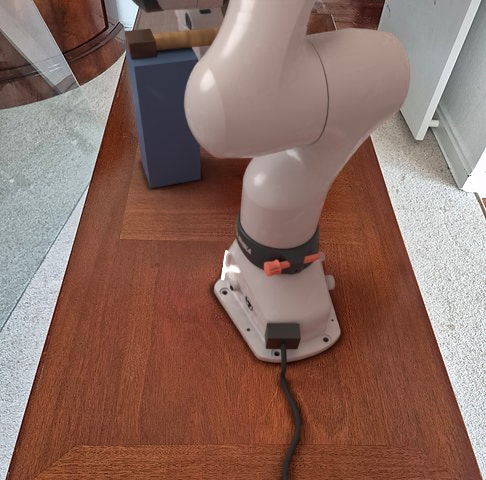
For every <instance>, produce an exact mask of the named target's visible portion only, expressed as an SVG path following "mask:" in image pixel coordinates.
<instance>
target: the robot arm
mask: <svg viewBox="0 0 486 480" xmlns="http://www.w3.org/2000/svg"><path fill="white" fill-rule="evenodd" d="M131 1H132V2H133V3H134V4H135V5H136V6H137V7H138V8H140V9H141V10H142V11H143V12H145V13H146V14H149V13H157V12H159V13H160V12H164V11H173V12H174V15H175V17H177V28H178V31H185V30H195V29H206V28H216V27H221V28H220V30H219V32H218V34H217V36H216V38H215V40H214V41H213V43H212V45H209V46H199V47H192V48H193V50H194V52H195V54H196V56H197V58H198V63H197V64H196V65H195V67H194V68H193V70H192V72H191V74H190V76H189V79H188V82H187V85H186V90H185V97H184V108H185V115H186V119H187V122H188V125H189V128H190V130H191V132H192V134H193V136H194V137H195V139H196V140H197V142H198V143H199V144H200V147H202V149H204V150H205V151H206V152H207V153H208V154H210V156H212V157H214V158H216V159H251V160H250V162H249V163H248V165H247V167H246V169H245V171H244V173H243V178H242V189H241V201H240V208H239V209H238V212H237V215H236V216H237V217H236V219H235V220H236V221H235V239H234V240H233V242H232V243H231V245H230V247H229V248H228V250H225V252H224V258H223V264H222V265H223V267H222V272H221V277H220V278H219V279H218V280H217V281H216V282H215V284H214V286H213V293H214V295H215V296H216V298H217V300H218V301H219V302H220V304H221V305H222V307H223V309H224V310H225V311H226V313H227V315H228V316H229V318H230V320H231V321H232V322H233V324H234V326H235V327H236V329H237V330H238V331H239V333H240V334H241V336H242V338H243V339H244V341H245V342H246V344H247V346H248V347H249V348H250V350H251V352H252V353H253V355H254V357H256V358H257V359H258V360H260V361H262V362H267V363H273V364H274V363H280V364H281V365H280V366H281V368H280V372H279V381H280V384H281V388H282V391H283V392H284V395H285V397H286V399H287V401H288V404H289V406H290V408H291V410H292V414H293V417H294V425H295V430H294V434H293V437H292V440H291V442H290V445H289V447H288V449H287V452H286V453H285V455H284V456H285V457H284V459H283V464H282V470H281V478H282V479H281V480H289V467H290V462H291V459H292V457H293V454H294V452H295V450H296V448H297V446H298V443H299V440H300V436H301V432H302V431H301V430H302V421H301V420H302V419H301V416H300V411H299V409H298V407H297V404H296V401H295V400H294V398H293V396H292V393H291V392H290V389H289V387H288V383H287V379H286V373H287V371H288V369H287V368H288V363H289V362H297V361H300V360H305V359H307V358H310V357H313V356H316V355H318V354H320V353H322V352H325V351H326V350H328V349H330V348H331V347H333V345H334V344H335V343H336V342H337V341H338V340H339V339H340V337H341V328H340V325H339V321H338V318H337V314H336V311H335V308H334V304H333V301H332V298H331V295H330V291H331V290H334V289H335V286H336V281H335V277H334V275H332V274H327V275H325V270H324V266H323V261H325V259H326V257H325V256H326V255H325V252H324V251H320V239H321V230H320V218H321V216H322V211H323V208H324V205H325V202H326V199H327V195H328V193H329V191H330V189H331V187H332V185H333V184H334V182H335V180H336V178H337V177H338V176H339V174H340V173H341V171H342V170H343V168H344V167H346V164H347V163H348V162H349V161H350V159H351V158H352V156H354V154H355V153H356V151H357V150H358V149H359V148H360V147H361V145H363V143H364V142H365V141H366V140H367V139H368V138H369V137H370V136H371V135H372V134H373V133H374V132H375V131H376V130H377V129H378V128H379V127H381V126H383V124H384V123H386V122H388V121H389V120H390V119H392V118H393V117H394V116H395V115H397V113H399V111H400V110H401V109H402V107H403V105H404V104H405V101H406V99H407V97H408V93H409V89H410V85H411V64H410V59H409V56H408V54H407V50H406V49H405V47H404V45H403V43H402V42H401V41H400V39H399V38H398V37H397V36H396V35H394V34H393V33H391V32H389V31H384V30H377V29H369V28H358V27H357V28H354V27H348V28H347V27H346V28H341V29H336V30H330V31H324V32H319V33H318V32H317V33H312V34H311V33H310V34H307V29H308V24H309V20H310V16H311V12H312V10H313V8H314V5H315V3H316V2H317V0H230V1H229V0H131ZM228 2H229V4H228V8H227V11H226V15H225V17H223V14H222V11H221V7H223V6H225V5H226V4H227V3H228ZM275 354H277V355H275Z"/></svg>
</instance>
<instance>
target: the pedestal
mask: <svg viewBox="0 0 486 480" xmlns="http://www.w3.org/2000/svg"><path fill="white" fill-rule="evenodd" d="M123 43H124V49H125V56H126V62H127V69H128V77H129V85H130V91H131V97H132V104H133V111H134V117H135V125H136V132H137V138H138V146H139V152H140V159H141V164H142V167H143V170H144V174H145V177H146V180H147V182H148V185H149V189H154V188H161V187H166V186H172V185H177V184H183V183H187V182H189V183H190V182H194V181H200V180H201V178H202V177H201V176H202V175H201V145H200V144H199V143H198V142H197V140H196V139H195V137H194V136H193V134H192V132H191V130H190V128H189V125H188V122H187V119H186V115H185V108H184V97H185V90H186V85H187V82H188V79H189V76H190V74H191V72H192V70H193V68H194V67H195V65H196V64H197V63H198V58H197V56H196V54H195V52H194V50H193V48H192V47H190V48H180V49H171V50H162V51H157V57H148V58H139V59H131V57H130V54H129V52H128V49H127V47H126V40H124V42H123Z"/></svg>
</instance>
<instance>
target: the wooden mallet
mask: <svg viewBox="0 0 486 480" xmlns="http://www.w3.org/2000/svg"><path fill="white" fill-rule="evenodd" d="M220 28H221V27H216V28H206V29H195V30H185V31H179V30H177V31H166V32H156V33H155V32H154V33H153V32H152V30H151V28H142V29H141V28H140V29H131V30H124V31H123V32H124V38H125V40H124V41H126V47H127V49H128V52H129V54H130V57H131V59H139V58H148V57H157V51H162V50H171V49H180V48H190V47H199V46H209V45H212V43H213V41H214V40H215V38H216V36H217V34H218V32H219V30H220Z"/></svg>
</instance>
